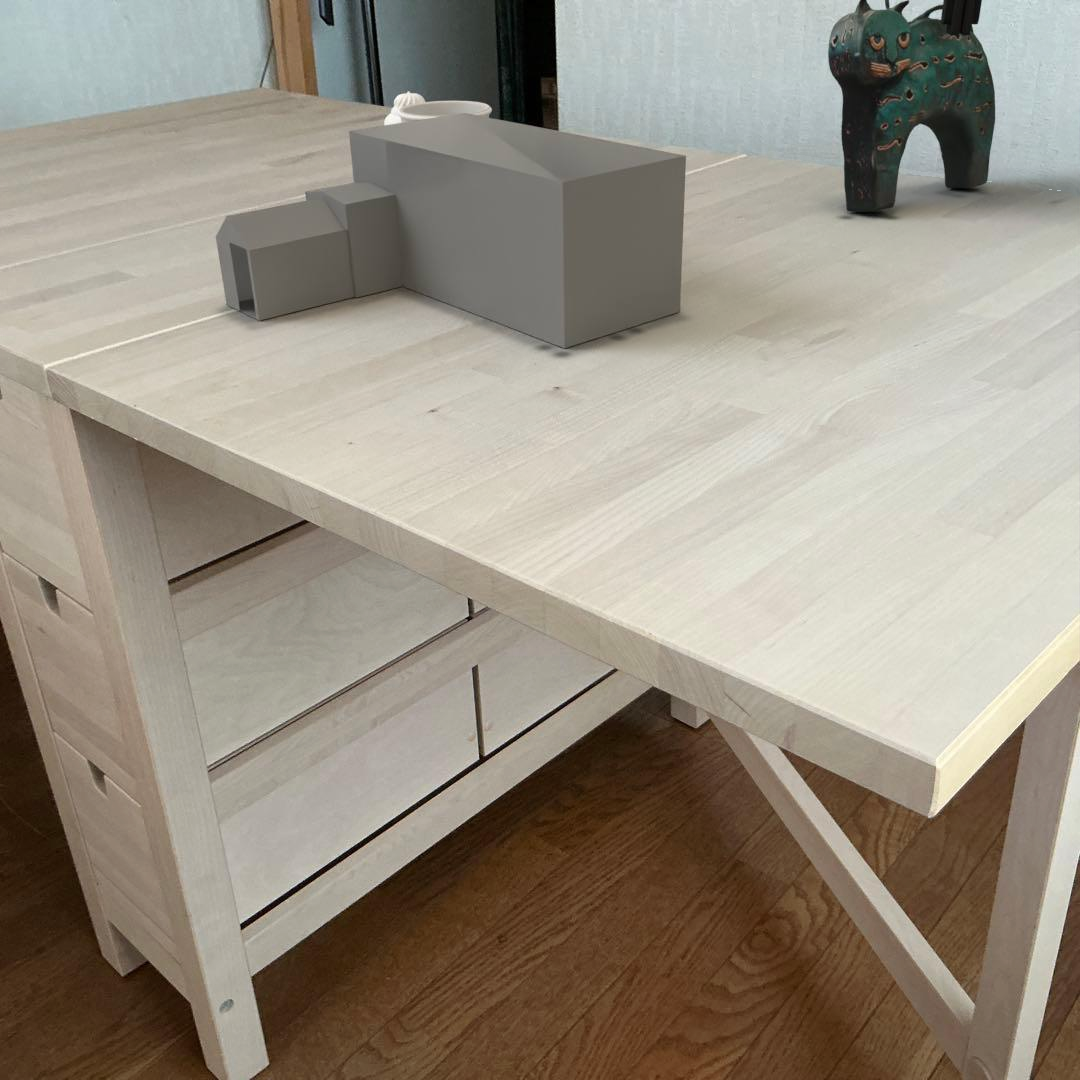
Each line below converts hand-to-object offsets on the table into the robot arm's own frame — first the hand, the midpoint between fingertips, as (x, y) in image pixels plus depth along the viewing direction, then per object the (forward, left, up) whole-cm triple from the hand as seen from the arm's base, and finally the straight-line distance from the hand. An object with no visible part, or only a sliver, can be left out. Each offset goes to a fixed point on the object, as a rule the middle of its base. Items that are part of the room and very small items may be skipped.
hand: (957, 33), depth 103 cm
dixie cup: (+45, +10, -15) cm, 48 cm away
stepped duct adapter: (+40, +35, -15) cm, 55 cm away
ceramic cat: (+2, 0, -15) cm, 15 cm away
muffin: (+56, -20, -15) cm, 61 cm away
